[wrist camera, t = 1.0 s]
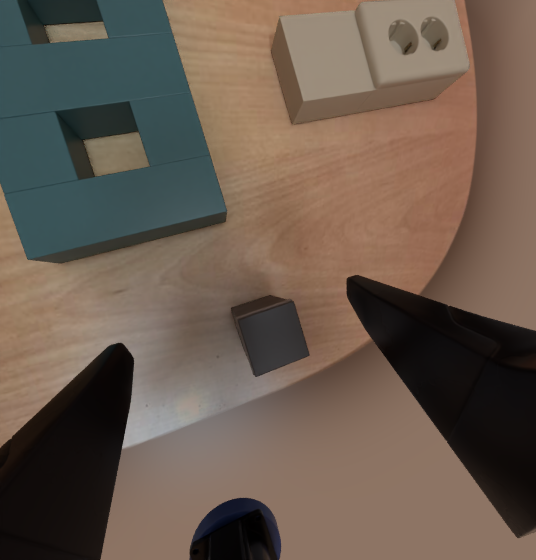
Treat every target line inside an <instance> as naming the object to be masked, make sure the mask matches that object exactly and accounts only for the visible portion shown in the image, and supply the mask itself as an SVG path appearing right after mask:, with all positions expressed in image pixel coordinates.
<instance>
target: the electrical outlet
mask: <svg viewBox="0 0 536 560" xmlns="http://www.w3.org/2000/svg"><path fill="white" fill-rule="evenodd" d="M271 53H272V56H273V60H274V63H275V67H276V70H277V74H278V77H279V81H280V84H281V88H282V91H283V95H284V98H285V102H286V105H287V109H288V112H289V116H290V119H291V123H292V125H293V124H299V123H304V122H310V121H315V120H321V119H326V118H332V117H338V116H343V115H349V114H354V113H360V112H365V111H371V110H376V109H382V108H387V107H393V106H399V105H404V104H410V103H415V102H421V101H426V100H432V99H435V98H436V97H437V96H438V95H440V94H441V93H442V92H443V91H444V90H446V89H447V88H448V87H449V86H450V85H452V84H453V83H454V82H455V81H456V80H458V79H459V78H460V77H461V76H462V75H464V74H465V73H466V72H467V71H468V69H469V66H470V64H469V59H468V55H467V50H466V46H465V42H464V38H463V34H462V29H461V25H460V21H459V17H458V13H457V8H456V4H455V0H383V1H368V2H361V3H360V4H359V5H358V7H357V9H356V10H354V11H341V12H328V13H315V14H302V15H289V16H279V20H278V24H277V28H276V32H275V37H274V41H273V45H272V49H271Z"/></svg>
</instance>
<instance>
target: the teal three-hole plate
mask: <svg viewBox="0 0 536 560" xmlns="http://www.w3.org/2000/svg"><path fill="white" fill-rule="evenodd" d="M92 21H103V22H104V25H105V28H106V31H107V34H108V38H107V39H95V40H83V41H71V42H58V43H49V40H48V37H47V34H46V32H45V29H44V26H43V25H47V24H62V23H77V22H92ZM134 131H139V134H140V137H141V140H142V143H143V146H144V149H145V152H146V155H147V158H148V162H149V165H150V167H145V168H140V169H135V170H129V171H124V172H119V173H114V174H108V175H103V176H98V177H94V174H93V171H92V168H91V165H90V162H89V159H88V156H87V153H86V150H85V147H84V144H83V141H82V140H84V139H90V138H96V137H103V136H109V135H115V134H122V133H128V132H134ZM0 184H1V187H2V189H3V192H4V196H5V199H6V201H7V204H8V207H9V210H10V212H11V215H12V218H13V221H14V223H15V226H16V229H17V232H18V234H19V237H20V240H21V243H22V245H23V248H24V251H25V254H26V256H27V259H28V260H35V261H44V262H53V263H64V262H68V261H72V260H76V259H80V258H84V257H88V256H92V255H96V254H100V253H104V252H108V251H112V250H116V249H120V248H124V247H128V246H131V245H135V244H139V243H143V242H147V241H151V240H155V239H159V238H163V237H167V236H171V235H175V234H179V233H183V232H187V231H191V230H195V229H199V228H203V227H207V226H211V225H215V224H219V223H223V222H225V220H226V215H227V209H226V206H225V202H224V199H223V196H222V193H221V189H220V186H219V183H218V179H217V176H216V173H215V170H214V166H213V163H212V160H211V157H210V153H209V150H208V147H207V144H206V140H205V137H204V134H203V131H202V127H201V124H200V121H199V118H198V114H197V111H196V108H195V104H194V101H193V98H192V95H191V92H190V88H189V85H188V82H187V79H186V75H185V72H184V69H183V66H182V62H181V59H180V56H179V52H178V49H177V46H176V43H175V39H174V36H173V33H172V30H171V26H170V23H169V20H168V17H167V13H166V10H165V7H164V4H163V0H0Z"/></svg>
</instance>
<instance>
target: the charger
mask: <svg viewBox="0 0 536 560" xmlns="http://www.w3.org/2000/svg"><path fill="white" fill-rule="evenodd" d="M231 310H232V314H233V317H234V320H235V323H236V326H237V330H238V333H239V336H240V339H241V342H242V345H243V348H244V351H245V353H246V356H247V358H248V360H249V363H250V366H251V369H252V372H253V375H255V377H257V376H260V375H262V374H265V373H267V372H270V371H272V370H275V369H277V368H280V367H282V366H285V365H287V364H290V363H292V362H295V361H297V360H300V359H302V358H305V357H307V356H309V351H308V348H307V345H306V341H305V338H304V334H303V331H302V328H301V324H300V321H299V318H298V314H297V311H296V308H295V304H294V301H292V300H291V299H288V300H287V299H283V298H279V297H275V296H271V295H269V296H266V297H263V298H260V299H257V300H254V301H251V302H248V303H245V304H242V305H239V306H236V307H233V308H231Z"/></svg>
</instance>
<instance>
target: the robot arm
mask: <svg viewBox="0 0 536 560" xmlns="http://www.w3.org/2000/svg"><path fill="white" fill-rule="evenodd" d="M347 297H348V300H349V302H350V303H351V305H352V307H353V309H354V310H355V312H356V314H357V316H358V318H359V319H360V321H361V323H362V325H363V326H364V328H365V330H366V331H367V332H368V334H369V335H370V337H371V338H372V339H373V341H374V342H375V344H376V345H377V346H378V348H379V349H380V350H381V352H382V353H383V354H384V356H385V357H386V358H387V360H388V361H389V363H390V364H391V366H392V367H393V368H394V370H395V371H396V372H397V374H398V375H399V377H400V378H401V379H402V380H403V382H404V383H405V385H406V386H407V388H408V389H409V390H410V392H411V393H412V394H413V396H414V397H415V398H416V400H417V401H418V403H419V404H420V405H421V407H422V408H423V409H424V411H425V412H426V414H427V415H428V416H429V418H430V419H431V421H432V422H433V423H434V425H435V426H436V427H437V429H438V430H439V432H440V433H441V434H442V436H443V437H444V438H445V440H446V441H447V443H448V444H449V446H450V447H451V448H452V450H453V451H454V452H455V454H456V455H457V457H458V458H459V459H460V461H461V462H462V463H463V465H464V466H465V468H466V469H467V470H468V472H469V473H470V474H471V476H472V477H473V479H474V480H475V481H476V483H477V484H478V485H479V487H480V488H481V490H482V491H483V492H484V494H485V495H486V496H487V498H488V499H489V501H490V502H491V503H492V505H493V506H494V507H495V509H496V510H497V511H498V513H499V514H500V516H501V517H502V518H503V520H504V521H505V523H506V524H507V525H508V527H509V528H510V529H511V531H512V532H513V533H514V534H515V536H516V537H517V538H521V537H523V536H526V535H529V534H531V533H534V532H536V331H534V330H530V329H527V328H523V327H519V326H515V325H512V324H508V323H505V322H501V321H498V320H494V319H490V318H487V317H483V316H480V315H477V314H473V313H471V312H467V311H464V310H461V309H458V308H455V307H452V306H448V305H446V304H443V303H440V302H437V301H434V300H431V299H428V298H425V297H422V296H419V295H416V294H413V293H410V292H407V291H404V290H401V289H398V288H395V287H392V286H389V285H386V284H383V283H380V282H377V281H374V280H371V279H368V278H365V277H362V276H359V275H354V276H351V277H348V278H347ZM133 371H134V358H133V356H132V354H131V353H130V352H129V351H128V349H127V348H126V347H125V345H124V344H123V343H116V344H113V345H110V346H108V347H107V348H106V349H105V350H104V351H103V352H102V353H101V354H100V355H98V356H97V357H96V358H95V359H94V360H93V361H92V362H91V363H90V364H89V365H88V366H87V367H86V368H85V369H84V370H83V371H81V372H80V373H79V374H78V375H77V376H76V377H75V378H74V379H73V380H72V381H71V382H70V383H69V384H68V385H67V386H66V387H64V388H63V389H62V390H61V391H60V392H59V393H58V394H57V395H56V396H55V397H54V398H53V399H52V400H51V401H50V402H49V403H47V404H46V405H45V406H44V407H43V408H42V409H41V410H40V411H39V412H38V413H37V414H36V415H35V416H34V417H33V418H32V419H30V420H29V421H28V422H27V423H26V424H25V425H24V426H23V427H22V428H21V429H20V430H19V431H18V432H17V433H16V434H15V435H13V436H12V439H9V440H8V441H7V442H6V443H5V444H4V445H3V446H2V447H1V448H0V560H100V559H101V553H102V548H103V543H104V538H105V533H106V528H107V522H108V517H109V512H110V507H111V502H112V497H113V491H114V486H115V481H116V476H117V471H118V465H119V460H120V455H121V450H122V445H123V440H124V434H125V429H126V424H127V419H128V414H129V409H130V403H131V395H132V384H133ZM257 516H259V517H257ZM196 548H197V549H196ZM195 549H196V550H195ZM190 557H191V559H192V560H278V558H277V555H276V552H275V549H274V546H273V543H272V539H271V536H270V533H269V530H268V527H267V524H266V521H265V518H264V515H263V512H262V510H261V509H255V510H253V511H252V512H250V513H248V514H246V515H244V516H242V517H240V518H238V519H236V520H234V521H232V522H230V523H228V524H227V525H225V526H223V527H221V528H219V529H217V530H215V531H213V532H211V533H209V534H207V535H205V536H203V537H202V538H200V539H198V540H196V541H194V542H193V543H192V544H191V546H190Z"/></svg>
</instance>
